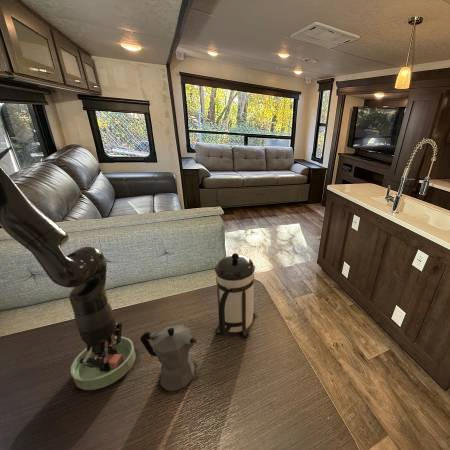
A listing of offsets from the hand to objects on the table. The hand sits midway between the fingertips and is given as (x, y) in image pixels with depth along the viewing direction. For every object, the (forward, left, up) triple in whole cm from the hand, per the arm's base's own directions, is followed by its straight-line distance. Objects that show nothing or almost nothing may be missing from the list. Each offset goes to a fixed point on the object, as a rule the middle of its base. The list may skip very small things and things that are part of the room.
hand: (110, 364), depth 72 cm
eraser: (0, 0, 0) cm, 0 cm away
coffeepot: (+19, -2, -1) cm, 19 cm away
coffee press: (+33, +17, -1) cm, 37 cm away
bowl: (-1, 0, -1) cm, 2 cm away
